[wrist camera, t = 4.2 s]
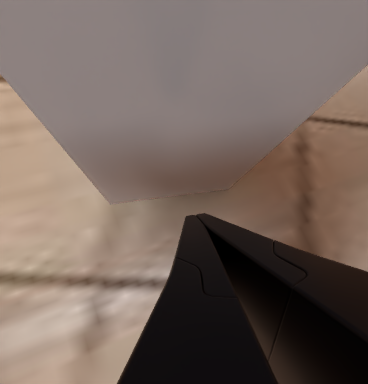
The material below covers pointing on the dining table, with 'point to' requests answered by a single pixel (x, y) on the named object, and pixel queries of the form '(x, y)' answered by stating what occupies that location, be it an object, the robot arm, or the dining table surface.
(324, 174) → the dining table surface
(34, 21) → the slate tile
